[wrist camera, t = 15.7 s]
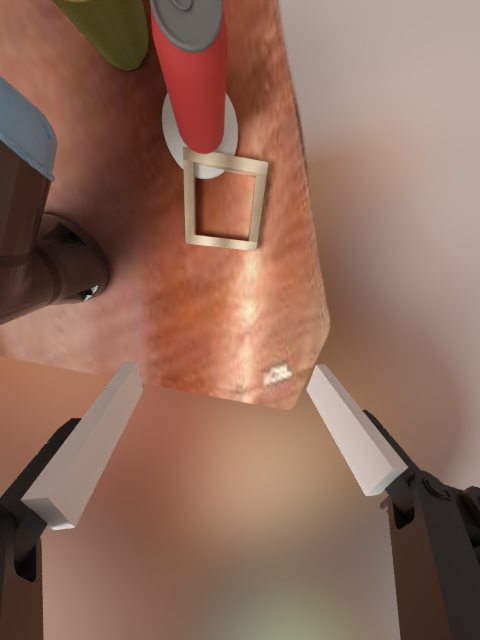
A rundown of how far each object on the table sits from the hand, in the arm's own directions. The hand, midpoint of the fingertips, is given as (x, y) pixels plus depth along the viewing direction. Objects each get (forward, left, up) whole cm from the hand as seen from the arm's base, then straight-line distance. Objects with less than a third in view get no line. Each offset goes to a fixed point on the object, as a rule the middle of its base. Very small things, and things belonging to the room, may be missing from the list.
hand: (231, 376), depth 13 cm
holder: (-1, +14, -27) cm, 30 cm away
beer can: (-5, +23, -25) cm, 35 cm away
